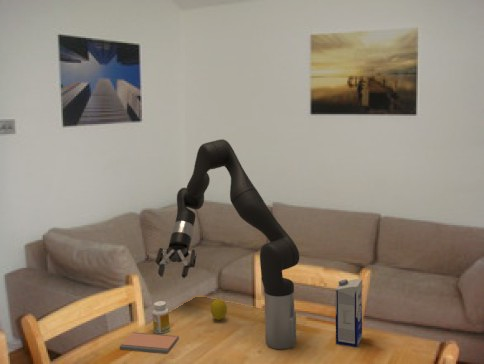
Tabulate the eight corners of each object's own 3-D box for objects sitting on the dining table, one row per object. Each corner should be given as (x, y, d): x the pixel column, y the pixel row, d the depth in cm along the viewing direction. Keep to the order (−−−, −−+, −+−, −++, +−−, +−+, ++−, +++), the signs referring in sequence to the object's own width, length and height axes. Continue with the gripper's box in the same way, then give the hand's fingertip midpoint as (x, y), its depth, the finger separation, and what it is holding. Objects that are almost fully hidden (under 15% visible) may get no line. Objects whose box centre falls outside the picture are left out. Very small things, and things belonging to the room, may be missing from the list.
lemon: (209, 318, 195) (208, 296, 193) (224, 315, 196) (223, 294, 195) (213, 324, 189) (212, 302, 188) (229, 322, 191) (228, 300, 190)
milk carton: (357, 347, 169) (357, 285, 166) (335, 344, 172) (335, 283, 169) (362, 337, 176) (362, 278, 172) (341, 334, 179) (341, 275, 175)
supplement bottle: (171, 326, 189) (169, 300, 187) (167, 334, 184) (165, 306, 182) (155, 326, 189) (154, 300, 188) (151, 333, 184) (149, 306, 182)
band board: (178, 338, 180) (178, 335, 180) (167, 353, 170) (167, 350, 170) (133, 335, 184) (133, 331, 184) (119, 349, 174) (119, 345, 174)
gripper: (160, 230, 203) (149, 270, 194) (197, 231, 199) (188, 272, 190) (166, 240, 209) (156, 279, 200) (202, 241, 205) (193, 282, 196)
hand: (171, 276), depth 195 cm, fingers open, 8 cm apart
